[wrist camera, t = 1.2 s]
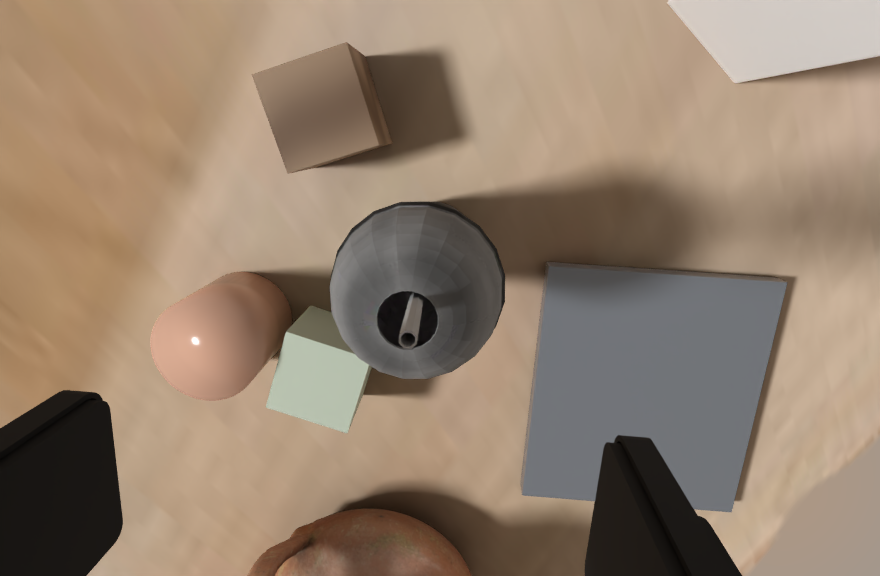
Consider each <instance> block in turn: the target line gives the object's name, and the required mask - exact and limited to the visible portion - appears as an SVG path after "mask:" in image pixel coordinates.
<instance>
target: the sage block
mask: <svg viewBox="0 0 880 576" xmlns="http://www.w3.org/2000/svg"><path fill="white" fill-rule="evenodd" d="M371 368H372V367H371V366H370V365H368V364H367V363H365V362H364V361H362V360H361V359H359V358H358V357H357V356H356V354H355V353H354V352H353V351H352V350H351V348H350V347H349V346H348V345H347V344H346V343H345V341H344V340H343V339H342V337H341V334H340V332H339V329H338V327H337V325H336V322H335V320H334V318H333V315H332V312H329V311H326V310H323V309H320V308H317V307H314V306H311V305H310V306H309V307H308V309H307V310H306V311H305V312H304V313H303V314H302V315H301V316H300V317H299V318H298V319H297V320H296V321H295V322H294V324H293V325H292V326H291V327H290V328H289V329H288V330H287V331H286V333H285V337H284V341H283V345H282V348H281V352H280V356H279V360H278V363H277V367H276V371H275V375H274V378H273V382H272V386H271V390H270V394H269V397H268V401H267V405H266V408H269V409H272V410H276V411H279V412H282V413H285V414H288V415H291V416H294V417H297V418H301V419H304V420H307V421H310V422H313V423H316V424H319V425H323V426H326V427H329V428H332V429H335V430H338V431H341V432H344V433H348V430H349V428H350V426H351V423H352V421H353V418H354V416H355V413H356V411H357V408H358V406H359V403H360V401H361V399H362V396H363V393H364V390H365V387H366V384H367V381H368V378H369V375H370V371H371Z"/></svg>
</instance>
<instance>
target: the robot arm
mask: <svg viewBox="0 0 880 576" xmlns="http://www.w3.org/2000/svg"><path fill="white" fill-rule="evenodd" d="M122 525H123V518H122V510H121V501H120V492H119V483H118V475H117V466H116V457H115V448H114V439H113V431H112V422H111V413H110V407H109V405H108V403H107V402H105V401H103V400H102V398H101V396H100V395H99V394H97V393H94V392H82V391H70V390H63V391H61V392H59V393H57V394H55V395H54V396H52V397H50V398H49V399H47V400H46V401H44V402H42V403H41V404H39V405H38V406H36V407H34V408H33V409H31V410H29V411H28V412H26V413H25V414H23V415H21V416H20V417H18V418H17V419H15V420H13V421H12V422H10V423H8V424H7V425H5V426H4V427H2V428H0V576H86V575H87V574H88V573H89V572H90V571H91V570H92V569H93V567H94V566H95V565H96V564H97V563H98V562H99V561H100V559H101V558H102V557H103V556H104V555H105V554H106V553H107V551H108V550H109V549H110V548H111V547H112V546H113V545H114V543H115V542H116V541H117V539H118V537H119V535H120V533H121V530H122ZM585 576H742V575H741V573H740V572H739V570H738V568H737V567H736V565H735V564H734V562H733V560H732V559H731V557H730V556H729V554H728V552H727V551H726V549H725V548H724V546H723V544H722V543H721V541H720V540H719V538H718V536H717V535H716V533H715V532H714V530H713V528H712V527H711V525H710V524H709V523H708V522H707V520H706V519H705V518H702V517H700V516H697V514H696V512H695V511H694V509H693V507H692V506H691V504H690V502H689V501H688V499H687V497H686V496H685V494H684V492H683V491H682V489H681V487H680V486H679V484H678V482H677V481H676V479H675V477H674V476H673V474H672V472H671V471H670V469H669V468H668V466H667V464H666V463H665V461H664V459H663V458H662V456H661V454H660V453H659V451H658V449H657V448H656V446H655V444H654V443H653V441H652V440H651V439H650V438H647V437H635V436H623V435H618V436H617V437H616V438H615V440H614V443H611V442H606V443H605V445H604V449H603V455H602V461H601V467H600V473H599V479H598V486H597V492H596V498H595V504H594V511H593V517H592V523H591V529H590V535H589V542H588V548H587V554H586V560H585Z"/></svg>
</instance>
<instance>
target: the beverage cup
mask: <svg viewBox="0 0 880 576" xmlns="http://www.w3.org/2000/svg"><path fill="white" fill-rule="evenodd" d="M330 298H331V311H332V315H333V318H334V320H335V322H336V325H337V327H338V329H339V332H340V334H341V337H342V339H343V340H344V341H345V343H346V344H347V345H348V346H349V347H350V348H351V350H352V351H353V352H354V353H355V354H356V356H357V357H358V358H359V359H361V360H362V361H364V362H365V363H367V364H368V365H370V366H371V367H373V368H374V369H376V370H378V371H379V372H382V373H385V374H389V375H392V376H395V377H399V378H402V379H429V378H432V377H436V376H439V375H442V374H446V373H449V372H452V371H454V370H455V369H457V368H458V367H460V366H461V365H463V364H464V363H466V362H467V361H469V360H470V359H472V358H473V357H475V355H476V354H477V353H478V352H479V350H480V349H481V348H482V347H483V345H484V344H485V343H486V341H487V340H488V339H489V338H490V336H491V335H492V333H493V330H494V328H495V327H496V325H497V322H498V319H499V316H500V314H501V311H502V308H503V305H504V302H505V273H504V270H503V267H502V264H501V261H500V258H499V255H498V252H497V249H496V248H495V246H494V245H493V244H492V242H491V241H490V240H489V238H488V237H487V236H486V234H485V233H484V232H483V230H482V229H481V228H480V226H478V225H477V224H475V223H474V222H473V221H471V220H470V219H468V218H467V217H466V216H464V215H463V214H462V213H461V212H459V211H458V210H456V209H455V208H454V207H452V206H450V205H447V204H444V203H441V202H399V203H397V204H394V205H391V206H388V207H385V208H382V209H379V210H376V211H374V212H372V213H371V214H370V215H369V216H367V217H366V218H365V219H364V220H362V221H361V222H360V223H358V224H357V225H356V226H355V227H353V228H352V229H351V231H350V232H349V234H348V235H347V237H346V239H345V240H344V242H343V243H342V245H341V246H340V248H339V249H338V251H337V255H336V259H335V263H334V267H333V271H332V275H331V282H330Z"/></svg>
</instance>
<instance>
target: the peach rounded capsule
mask: <svg viewBox="0 0 880 576" xmlns="http://www.w3.org/2000/svg"><path fill="white" fill-rule="evenodd" d="M291 326H292V314H291V309H290V306H289V303H288V301H287V299H286V297H285V296H284V294H283V293H282V291H281V290H280V289H279V288H278V287H277V286H276V285H275V284H274V283H272V282H271V281H270V280H268V279H266V278H264V277H263V276H260V275H258V274H254V273H250V272H234V273H230V274H226V275H224V276H222V277H220V278H218V279H217V280H215V281H213V282H212V283H210V284H208V285H206V286H205V287H203V288H201V289H199V290H198V291H196V292H194V293H192V294H191V295H189V296H187V297H186V298H184V299H182V300H180V301H179V302H177V303H175V304H174V305H172V306H170V307H169V308H167V309H166V310H165V311H164V312H163V313H162V314H161V315H160V316H159V317H158V319H157V321H156V322H155V324H154V327H153V330H152V333H151V352H152V356H153V360H154V362H155V364H156V367H157V368H158V370H159V372H160V373H161V375H162V376H163V377H164V378H165V379H166V381H167V382H168V383H169V384H171V385H172V386H173V387H174V388H176V389H177V390H179V391H180V392H182V393H184V394H186V395H188V396H190V397H193V398H197V399H200V400H209V401H215V400H222V399H227V398H229V397H232V396H234V395H236V394H238V393H239V392H241V391H242V390H243V389H244V388H245V387H246V386H247V385H248V384H249V383H250V382H251V381H252V380H253V379H254V377H255V376H256V375H257V374H258V373H259V372H260V371H261V370H262V368H263V367H264V366H265V365H266V364H267V363H268V362H269V360H270V359H271V358H272V357H273V356H274V355H275V354H276V352H277V351H278V350H279V349H280V348H281V347H282V345H283V341H284V337H285V333H286V331H287V330H288V329H289V328H290V327H291Z"/></svg>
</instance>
